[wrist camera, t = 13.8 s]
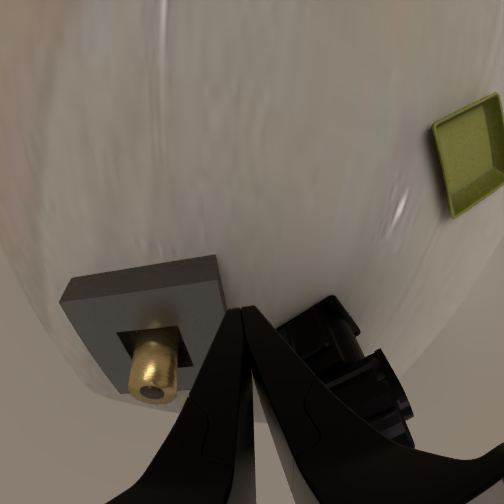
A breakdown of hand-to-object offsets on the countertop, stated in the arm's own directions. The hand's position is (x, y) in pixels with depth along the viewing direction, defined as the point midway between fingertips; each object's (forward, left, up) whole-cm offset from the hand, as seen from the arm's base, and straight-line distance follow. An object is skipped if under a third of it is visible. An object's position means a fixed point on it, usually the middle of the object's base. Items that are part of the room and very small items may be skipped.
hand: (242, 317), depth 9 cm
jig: (-6, +12, -12) cm, 18 cm away
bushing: (-6, +12, -12) cm, 18 cm away
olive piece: (-9, -18, -13) cm, 24 cm away
